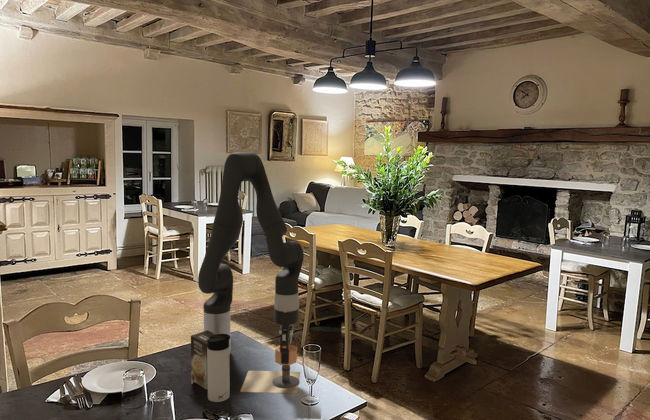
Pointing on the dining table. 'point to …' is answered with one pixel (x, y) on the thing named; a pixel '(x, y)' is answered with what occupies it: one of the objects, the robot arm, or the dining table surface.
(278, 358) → the ring
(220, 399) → the travel mug
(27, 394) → the dining table surface
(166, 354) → the dining table surface
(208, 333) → the coffee box
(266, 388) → the post board
